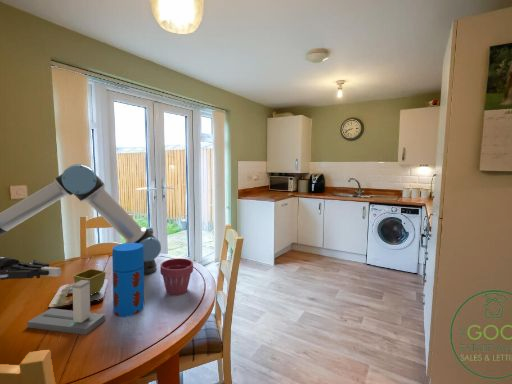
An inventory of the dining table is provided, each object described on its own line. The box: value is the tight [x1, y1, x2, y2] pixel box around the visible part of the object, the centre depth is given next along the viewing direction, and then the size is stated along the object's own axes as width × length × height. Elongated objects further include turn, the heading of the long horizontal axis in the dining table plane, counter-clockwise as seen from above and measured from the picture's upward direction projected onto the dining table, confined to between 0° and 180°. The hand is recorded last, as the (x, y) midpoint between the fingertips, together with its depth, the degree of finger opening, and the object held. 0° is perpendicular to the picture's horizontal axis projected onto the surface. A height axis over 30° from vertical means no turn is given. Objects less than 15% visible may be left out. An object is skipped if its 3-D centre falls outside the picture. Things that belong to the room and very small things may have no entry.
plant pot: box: [159, 257, 194, 296], centre depth 120 cm, size 14×14×13 cm
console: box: [26, 307, 106, 336], centre depth 94 cm, size 22×9×2 cm, turn 82°
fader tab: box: [71, 280, 91, 323], centre depth 92 cm, size 3×4×13 cm
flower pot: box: [73, 268, 107, 296], centre depth 116 cm, size 9×9×9 cm
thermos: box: [111, 242, 145, 318], centre depth 103 cm, size 11×11×25 cm
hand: (59, 272), depth 95 cm, fingers closed
